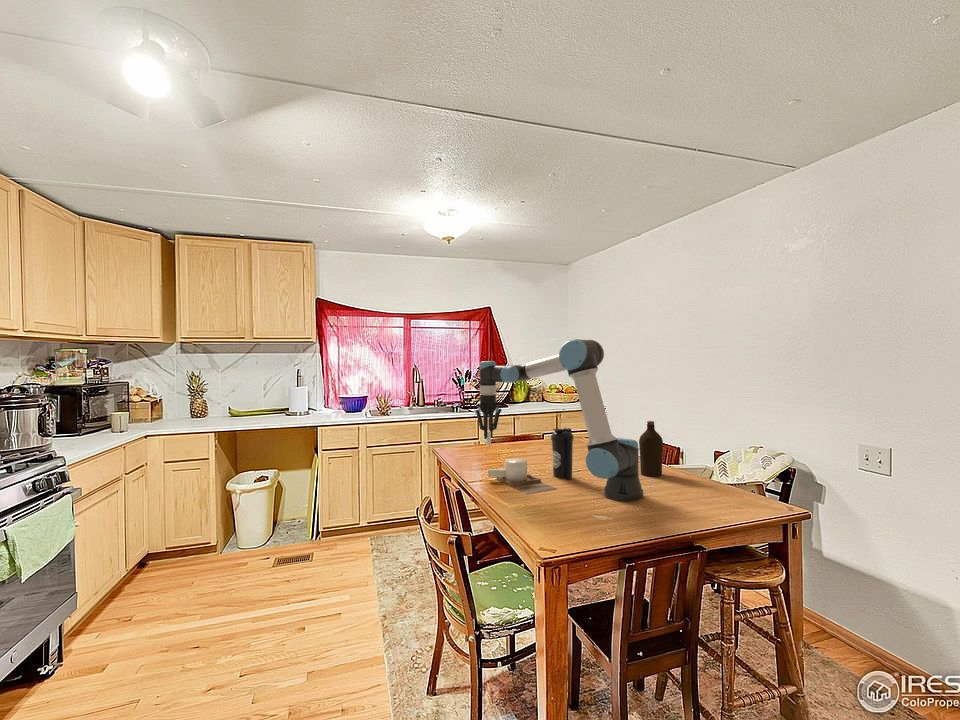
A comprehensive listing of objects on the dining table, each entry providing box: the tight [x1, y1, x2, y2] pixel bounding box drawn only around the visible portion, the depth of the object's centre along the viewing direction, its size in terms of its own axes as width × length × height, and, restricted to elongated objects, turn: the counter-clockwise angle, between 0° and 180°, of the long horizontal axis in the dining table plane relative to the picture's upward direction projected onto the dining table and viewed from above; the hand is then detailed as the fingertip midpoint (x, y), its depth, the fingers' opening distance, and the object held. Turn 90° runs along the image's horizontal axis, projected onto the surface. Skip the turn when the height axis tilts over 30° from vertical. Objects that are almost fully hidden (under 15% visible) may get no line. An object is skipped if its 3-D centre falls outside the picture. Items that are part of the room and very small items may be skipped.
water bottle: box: [550, 427, 574, 481], centre depth 219 cm, size 10×10×23 cm
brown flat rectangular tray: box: [496, 473, 558, 495], centre depth 207 cm, size 27×15×2 cm, turn 26°
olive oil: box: [638, 420, 664, 478], centre depth 223 cm, size 11×11×25 cm
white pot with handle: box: [487, 458, 528, 483], centre depth 212 cm, size 18×10×9 cm, turn 88°
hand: (488, 444), depth 221 cm, fingers closed
